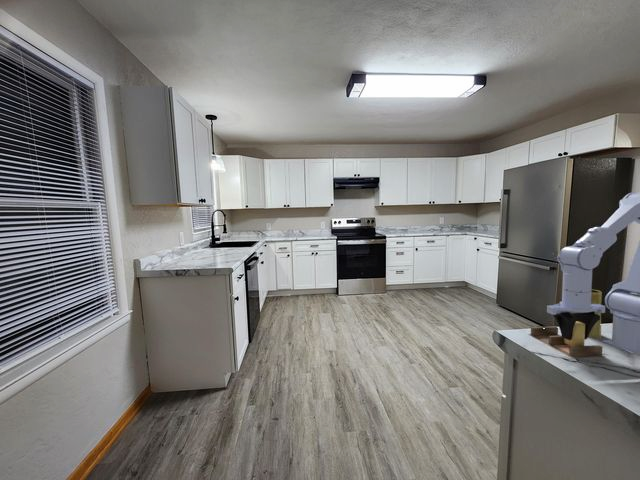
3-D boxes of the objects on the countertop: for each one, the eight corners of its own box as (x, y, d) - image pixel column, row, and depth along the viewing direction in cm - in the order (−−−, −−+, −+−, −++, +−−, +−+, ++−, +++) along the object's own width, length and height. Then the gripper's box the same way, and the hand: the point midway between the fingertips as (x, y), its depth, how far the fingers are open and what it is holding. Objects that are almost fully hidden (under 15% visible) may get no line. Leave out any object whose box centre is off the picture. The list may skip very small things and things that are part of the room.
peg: (574, 340, 76) (574, 319, 75) (588, 346, 72) (589, 325, 71) (560, 340, 75) (561, 320, 75) (574, 347, 71) (574, 325, 71)
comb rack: (555, 334, 84) (555, 325, 84) (605, 358, 70) (606, 347, 69) (527, 335, 84) (528, 326, 84) (572, 359, 69) (572, 348, 69)
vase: (607, 339, 80) (609, 293, 79) (583, 338, 81) (585, 292, 80) (591, 331, 86) (593, 288, 85) (569, 330, 87) (570, 287, 86)
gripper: (587, 285, 77) (585, 331, 77) (538, 287, 76) (536, 333, 77) (615, 292, 69) (612, 342, 70) (560, 294, 69) (558, 344, 70)
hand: (574, 338), depth 73 cm, fingers closed on peg, 4 cm apart
